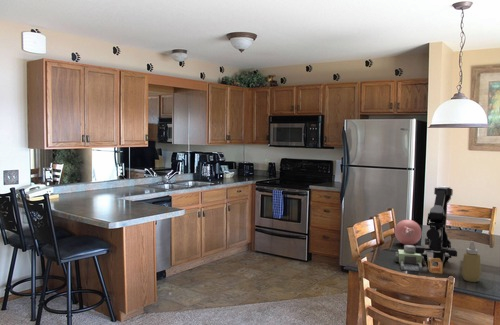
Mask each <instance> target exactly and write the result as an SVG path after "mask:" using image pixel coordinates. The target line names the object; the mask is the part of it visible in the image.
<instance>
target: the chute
mask: <svg viewBox="0 0 500 325" xmlns="http://www.w3.org/2000/svg"><path fill="white" fill-rule="evenodd" d="M427 258H428V268H427V269H428V271H429V273H430V274H431V273H432V274H441V275H442V274H443V270H444V268H443V263H442V261H441V259H440V258H433V257H427ZM433 262H435V263H437V266H436V265H433Z"/></svg>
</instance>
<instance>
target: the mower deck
mask: <svg viewBox="0 0 500 325" xmlns="http://www.w3.org/2000/svg"><path fill="white" fill-rule="evenodd" d="M415 246H416V245H405V244H403V249H397V250H398V251H394V262H395V263H398V264H400V260H403V263H411V264H418V261H420V262H421V265H422V266H423V265H425V266H426V263H425V259H424V257H423V256H422V255H421V254H417V253H415Z"/></svg>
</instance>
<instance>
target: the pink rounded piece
mask: <svg viewBox="0 0 500 325" xmlns="http://www.w3.org/2000/svg"><path fill="white" fill-rule="evenodd" d="M394 235H395V239H396V240H397V241H398V242H399V243H401V244H402V245H412V246H414V245H416V244H417V243H418V242H419V241H420V239H421V237H422V235H423V234H422V228H421V226H420V224H419V223H418V222H416V221H415V220H412V219H403V220H400V221H399V222H398V223H397V224H396V225H395V228H394Z"/></svg>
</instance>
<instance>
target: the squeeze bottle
mask: <svg viewBox="0 0 500 325" xmlns="http://www.w3.org/2000/svg"><path fill="white" fill-rule="evenodd" d="M465 250H466V252H464V254H463V259H462V264H461V265H462V266H461V274H462V277H463V280H464V281H466V282H469V283H470V282H471V283H476V282H477V283H478V282H479V280H480V277H481V275H482V265H481V255H480V254H479V250H478V249H477V248H476V245H475V241H474V240H473V241H472V240H471V241H470V244H469V247H467V248H466V249H465Z"/></svg>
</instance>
